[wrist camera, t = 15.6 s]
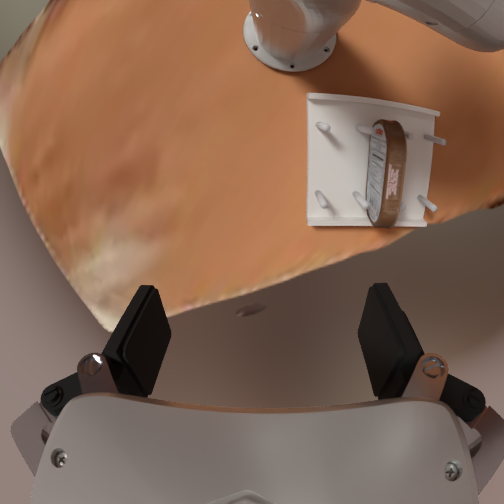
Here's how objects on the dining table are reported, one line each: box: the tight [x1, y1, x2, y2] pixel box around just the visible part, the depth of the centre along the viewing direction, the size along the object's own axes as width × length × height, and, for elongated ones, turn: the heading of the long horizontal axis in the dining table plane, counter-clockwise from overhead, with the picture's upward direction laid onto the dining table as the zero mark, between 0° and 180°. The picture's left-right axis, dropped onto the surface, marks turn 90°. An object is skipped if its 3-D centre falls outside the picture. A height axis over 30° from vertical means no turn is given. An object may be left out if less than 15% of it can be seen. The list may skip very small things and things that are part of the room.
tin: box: [366, 119, 407, 229], centre depth 32 cm, size 15×3×8 cm, turn 2°
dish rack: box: [306, 93, 446, 227], centre depth 34 cm, size 19×20×6 cm
